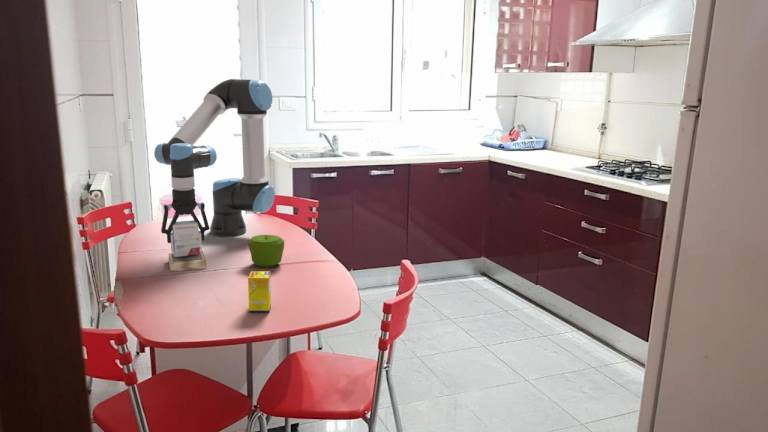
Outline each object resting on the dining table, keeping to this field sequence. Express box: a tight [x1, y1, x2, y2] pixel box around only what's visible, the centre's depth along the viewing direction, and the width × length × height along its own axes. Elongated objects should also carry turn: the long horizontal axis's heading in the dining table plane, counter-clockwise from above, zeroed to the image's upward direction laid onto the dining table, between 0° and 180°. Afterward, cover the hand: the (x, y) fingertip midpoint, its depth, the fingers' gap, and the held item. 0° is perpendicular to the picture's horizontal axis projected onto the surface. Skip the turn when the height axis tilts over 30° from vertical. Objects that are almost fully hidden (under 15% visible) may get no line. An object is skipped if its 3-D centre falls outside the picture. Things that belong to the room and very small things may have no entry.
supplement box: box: [247, 270, 272, 314], centre depth 176 cm, size 6×6×11 cm
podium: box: [167, 250, 207, 272], centre depth 215 cm, size 12×12×3 cm
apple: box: [247, 234, 285, 268], centre depth 217 cm, size 12×12×11 cm
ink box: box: [171, 219, 201, 257], centre depth 214 cm, size 9×5×12 cm, turn 116°
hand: (186, 250), depth 214 cm, fingers closed on ink box, 9 cm apart
